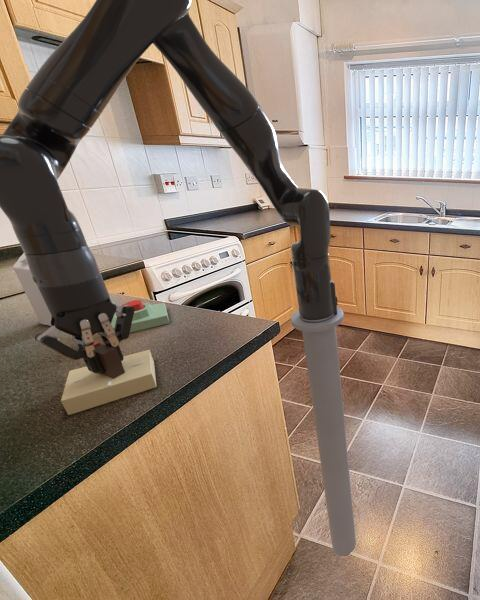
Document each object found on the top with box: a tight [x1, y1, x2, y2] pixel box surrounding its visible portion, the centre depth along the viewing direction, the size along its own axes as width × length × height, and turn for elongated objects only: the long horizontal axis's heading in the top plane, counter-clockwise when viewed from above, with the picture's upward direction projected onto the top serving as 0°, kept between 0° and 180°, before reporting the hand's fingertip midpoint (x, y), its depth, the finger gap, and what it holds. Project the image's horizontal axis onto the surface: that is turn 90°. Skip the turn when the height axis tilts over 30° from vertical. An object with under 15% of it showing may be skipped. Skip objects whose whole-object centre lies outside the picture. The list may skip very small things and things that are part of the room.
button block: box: [111, 302, 170, 334], centre depth 83 cm, size 12×10×4 cm
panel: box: [60, 349, 157, 416], centre depth 61 cm, size 12×10×3 cm
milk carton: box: [12, 252, 52, 327], centre depth 82 cm, size 7×7×19 cm
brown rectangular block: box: [93, 341, 125, 378], centre depth 59 cm, size 6×2×5 cm, turn 66°
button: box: [123, 299, 144, 311], centre depth 82 cm, size 4×4×2 cm
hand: (108, 368), depth 60 cm, fingers closed on brown rectangular block, 2 cm apart
